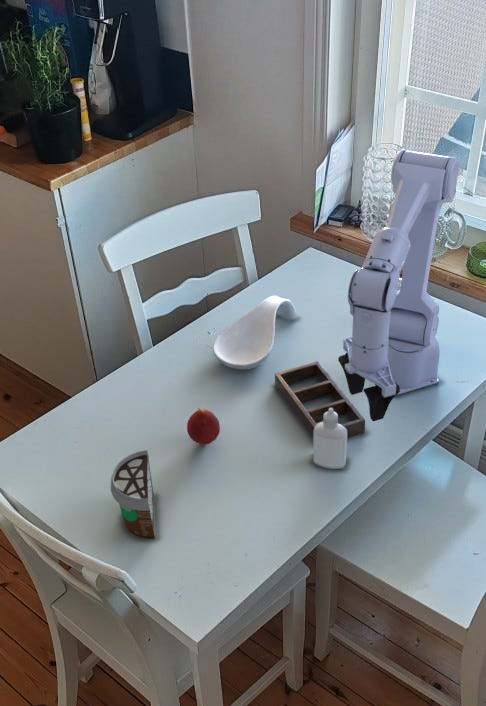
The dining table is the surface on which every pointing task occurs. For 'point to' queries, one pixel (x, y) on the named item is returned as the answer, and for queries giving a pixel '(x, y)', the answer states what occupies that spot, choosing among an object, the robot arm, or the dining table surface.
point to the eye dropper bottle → (330, 442)
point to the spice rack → (315, 392)
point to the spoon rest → (252, 335)
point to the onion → (203, 426)
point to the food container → (135, 494)
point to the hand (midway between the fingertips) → (366, 405)
